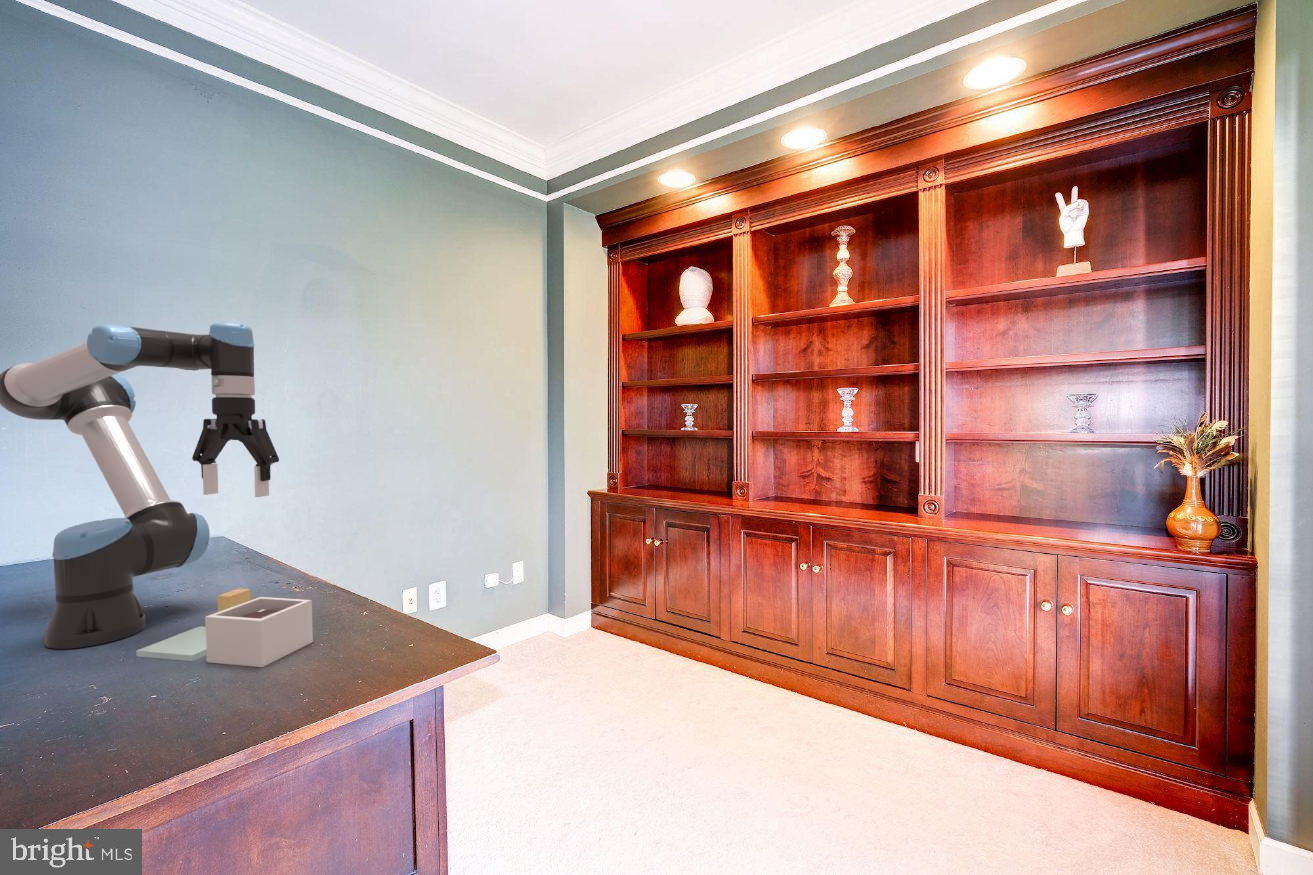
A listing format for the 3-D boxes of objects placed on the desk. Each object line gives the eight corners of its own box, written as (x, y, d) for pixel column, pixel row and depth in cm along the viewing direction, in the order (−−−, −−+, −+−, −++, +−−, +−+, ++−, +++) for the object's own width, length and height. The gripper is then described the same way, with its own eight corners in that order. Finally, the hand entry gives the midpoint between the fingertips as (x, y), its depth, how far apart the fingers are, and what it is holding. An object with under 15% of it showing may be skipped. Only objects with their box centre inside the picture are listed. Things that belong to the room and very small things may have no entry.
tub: (206, 662, 109) (205, 616, 108) (262, 637, 120) (260, 596, 120) (262, 667, 106) (260, 620, 106) (312, 641, 118) (311, 600, 118)
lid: (136, 656, 111) (134, 615, 111) (221, 623, 129) (219, 587, 128) (192, 661, 109) (190, 619, 109) (270, 627, 126) (269, 590, 126)
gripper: (169, 396, 125) (172, 495, 126) (266, 396, 119) (268, 499, 120) (204, 397, 132) (206, 490, 133) (296, 397, 127) (298, 494, 128)
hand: (236, 495), depth 127 cm, fingers open, 13 cm apart
